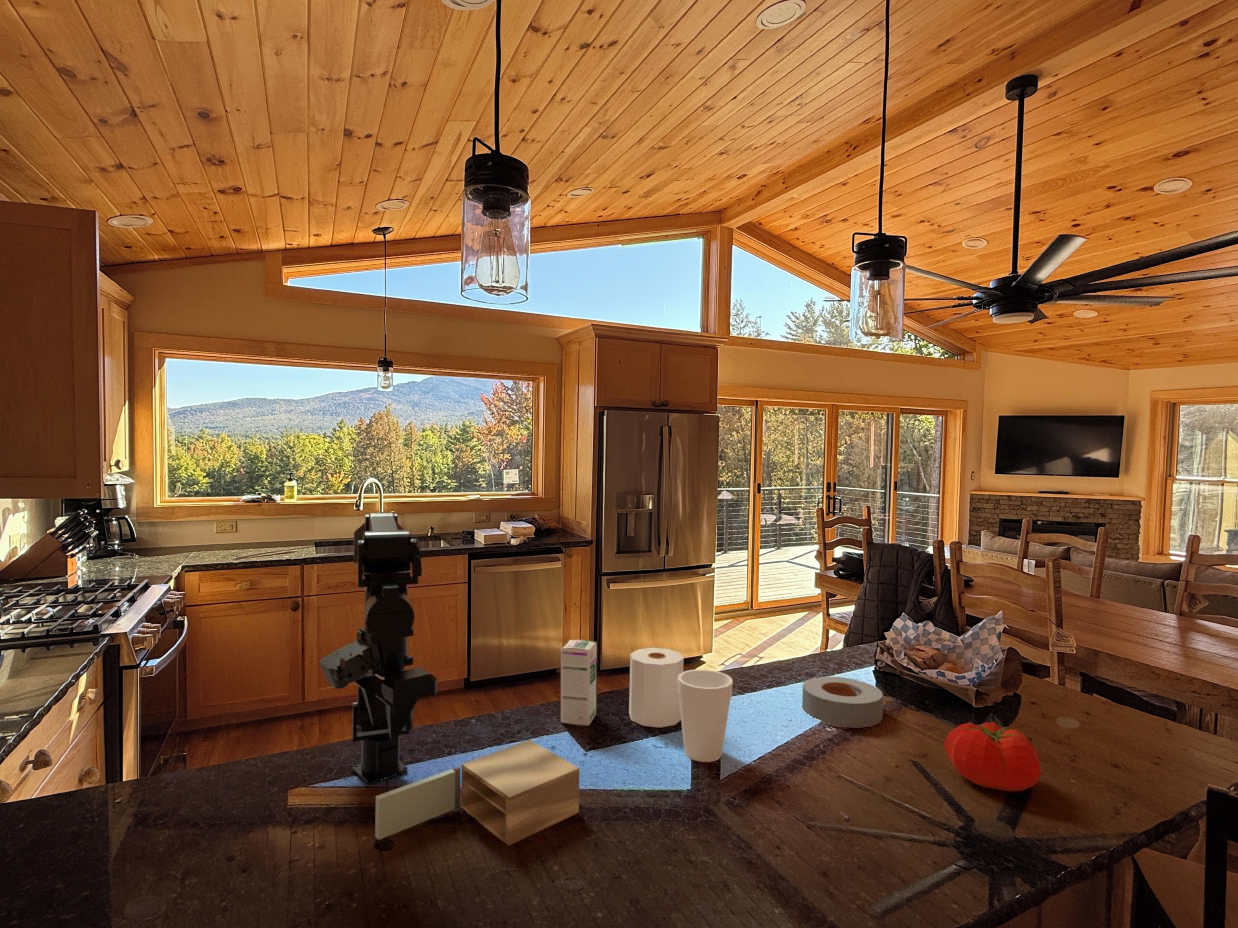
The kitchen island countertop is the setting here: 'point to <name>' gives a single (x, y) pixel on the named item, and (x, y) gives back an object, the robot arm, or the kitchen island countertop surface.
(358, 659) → the robot arm
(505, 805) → the cabinet
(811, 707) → the tape roll
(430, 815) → the door
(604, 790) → the kitchen island countertop surface
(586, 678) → the syrup box
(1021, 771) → the tomato
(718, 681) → the foam cup
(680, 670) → the toilet paper
